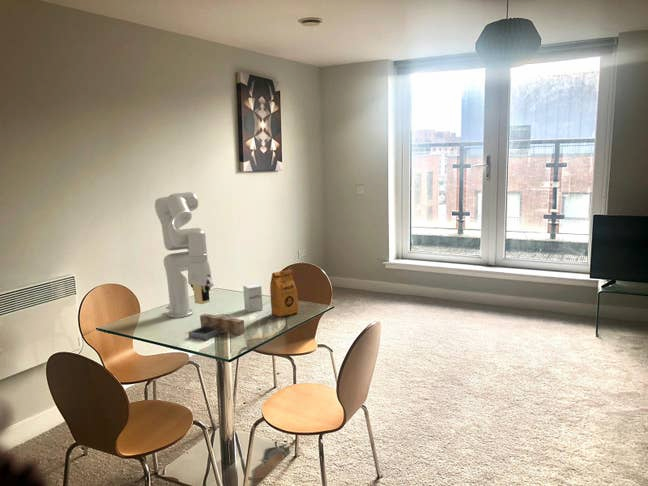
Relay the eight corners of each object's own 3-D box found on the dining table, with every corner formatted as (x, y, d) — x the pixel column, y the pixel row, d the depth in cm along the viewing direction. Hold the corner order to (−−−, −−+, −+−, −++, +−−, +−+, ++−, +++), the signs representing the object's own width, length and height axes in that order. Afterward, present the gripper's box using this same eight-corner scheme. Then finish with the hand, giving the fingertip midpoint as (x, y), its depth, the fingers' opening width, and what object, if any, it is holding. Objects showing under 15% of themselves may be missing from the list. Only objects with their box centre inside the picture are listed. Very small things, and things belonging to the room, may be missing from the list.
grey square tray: (188, 337, 233) (188, 332, 232) (205, 330, 241) (204, 325, 241) (205, 341, 227) (204, 335, 227) (221, 333, 236) (220, 328, 235)
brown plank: (201, 327, 246) (200, 315, 245) (205, 325, 248) (204, 313, 247) (240, 335, 233) (239, 322, 232) (244, 333, 236) (243, 320, 235)
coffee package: (301, 314, 260) (298, 270, 256) (278, 319, 254) (275, 274, 250) (291, 309, 268) (289, 267, 265) (269, 314, 262) (266, 271, 258)
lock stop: (194, 303, 231) (193, 283, 230) (202, 300, 235) (200, 280, 233) (202, 304, 229) (200, 284, 227) (209, 301, 232) (208, 281, 231)
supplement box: (249, 312, 267) (247, 288, 265) (244, 309, 273) (242, 285, 271) (263, 310, 270) (261, 286, 268) (258, 306, 277) (256, 283, 274)
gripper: (178, 259, 230) (182, 299, 233) (206, 261, 221) (210, 304, 224) (191, 256, 236) (194, 295, 239) (219, 258, 227) (222, 299, 230)
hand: (202, 299), depth 232 cm, fingers closed on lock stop, 4 cm apart
